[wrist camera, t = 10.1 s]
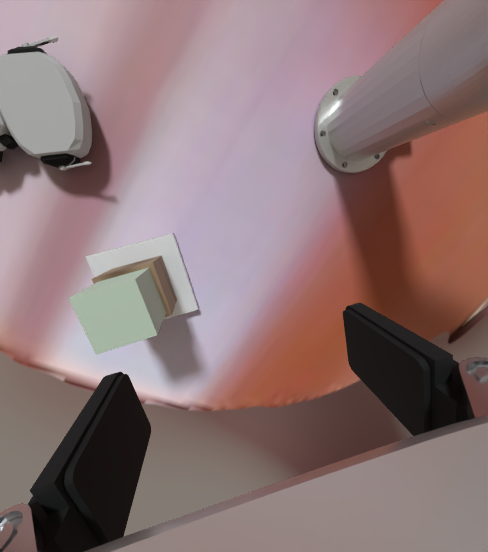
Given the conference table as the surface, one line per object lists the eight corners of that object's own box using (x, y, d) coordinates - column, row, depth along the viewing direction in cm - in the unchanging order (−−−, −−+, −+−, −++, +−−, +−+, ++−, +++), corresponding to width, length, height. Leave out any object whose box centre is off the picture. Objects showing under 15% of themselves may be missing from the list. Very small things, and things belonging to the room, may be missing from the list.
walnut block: (161, 255, 33) (152, 262, 27) (177, 299, 35) (172, 315, 29) (111, 268, 32) (91, 279, 26) (130, 313, 34) (115, 332, 28)
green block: (149, 267, 27) (135, 279, 21) (166, 312, 29) (157, 335, 23) (97, 281, 26) (68, 298, 21) (117, 327, 28) (96, 354, 22)
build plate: (173, 233, 34) (172, 233, 32) (198, 306, 37) (198, 309, 36) (89, 255, 32) (85, 256, 31) (122, 330, 35) (119, 333, 34)
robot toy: (-10, 184, 29) (111, 170, 30) (-50, 177, 25) (92, 162, 26) (-53, 70, 26) (83, 59, 27) (-107, 41, 22) (57, 29, 23)
